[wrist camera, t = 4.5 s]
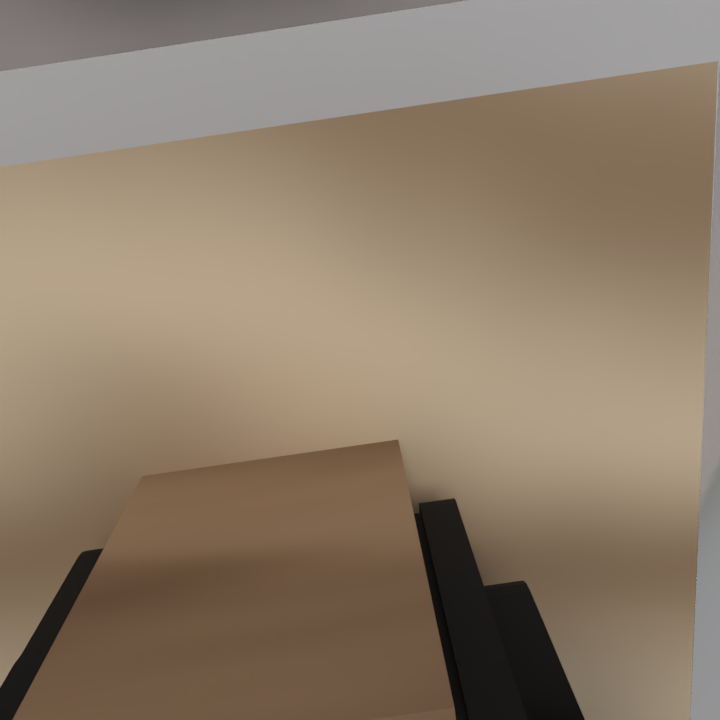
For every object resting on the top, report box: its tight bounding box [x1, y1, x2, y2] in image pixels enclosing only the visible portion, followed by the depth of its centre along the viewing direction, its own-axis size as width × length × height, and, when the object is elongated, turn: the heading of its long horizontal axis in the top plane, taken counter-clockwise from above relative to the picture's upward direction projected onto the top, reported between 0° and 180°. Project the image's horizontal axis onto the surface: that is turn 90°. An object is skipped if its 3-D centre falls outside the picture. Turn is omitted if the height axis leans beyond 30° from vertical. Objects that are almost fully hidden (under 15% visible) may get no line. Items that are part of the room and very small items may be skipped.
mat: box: [0, 0, 720, 292], centre depth 15 cm, size 16×16×1 cm
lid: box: [0, 61, 718, 720], centre depth 9 cm, size 14×14×6 cm
